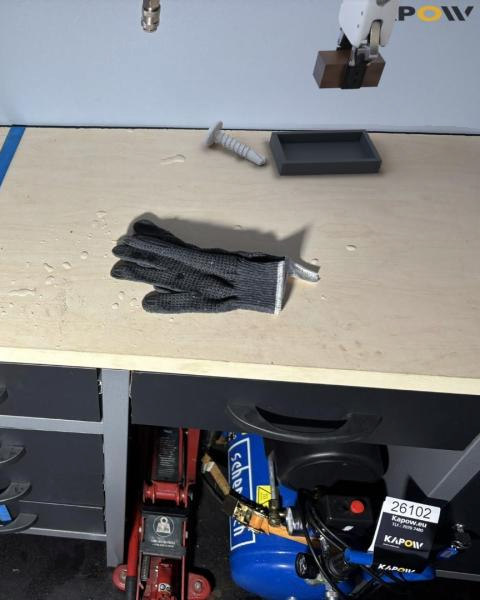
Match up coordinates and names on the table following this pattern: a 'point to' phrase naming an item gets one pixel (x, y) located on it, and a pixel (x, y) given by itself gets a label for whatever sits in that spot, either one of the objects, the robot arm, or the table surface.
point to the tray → (324, 152)
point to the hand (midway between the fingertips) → (345, 78)
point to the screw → (231, 144)
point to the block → (333, 67)
